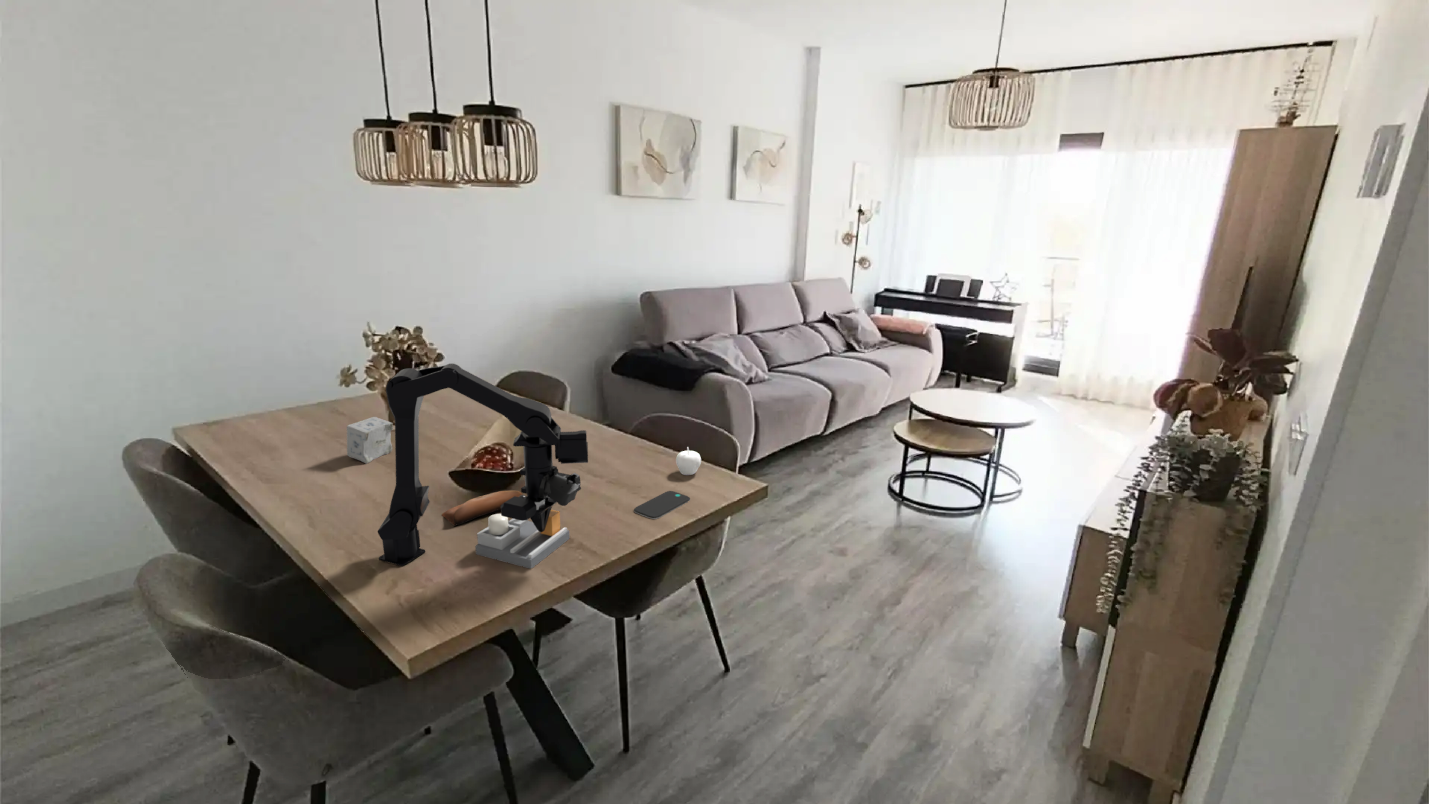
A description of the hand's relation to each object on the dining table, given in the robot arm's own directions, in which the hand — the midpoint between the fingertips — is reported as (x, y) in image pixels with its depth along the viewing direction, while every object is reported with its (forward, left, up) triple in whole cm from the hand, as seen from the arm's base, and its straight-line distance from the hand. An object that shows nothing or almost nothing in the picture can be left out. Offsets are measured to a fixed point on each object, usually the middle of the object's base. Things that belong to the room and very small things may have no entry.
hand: (541, 531), depth 141 cm
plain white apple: (+52, -12, -4) cm, 54 cm away
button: (-4, +8, 0) cm, 9 cm away
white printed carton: (+23, +74, -4) cm, 78 cm away
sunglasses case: (+9, +24, -5) cm, 26 cm away
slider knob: (+3, 0, -2) cm, 4 cm away
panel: (-1, +4, -4) cm, 6 cm away
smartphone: (+30, -14, -5) cm, 34 cm away
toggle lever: (+5, +9, -1) cm, 10 cm away
